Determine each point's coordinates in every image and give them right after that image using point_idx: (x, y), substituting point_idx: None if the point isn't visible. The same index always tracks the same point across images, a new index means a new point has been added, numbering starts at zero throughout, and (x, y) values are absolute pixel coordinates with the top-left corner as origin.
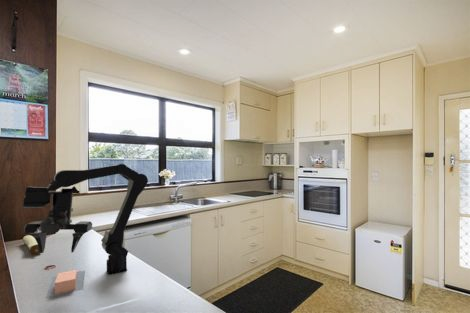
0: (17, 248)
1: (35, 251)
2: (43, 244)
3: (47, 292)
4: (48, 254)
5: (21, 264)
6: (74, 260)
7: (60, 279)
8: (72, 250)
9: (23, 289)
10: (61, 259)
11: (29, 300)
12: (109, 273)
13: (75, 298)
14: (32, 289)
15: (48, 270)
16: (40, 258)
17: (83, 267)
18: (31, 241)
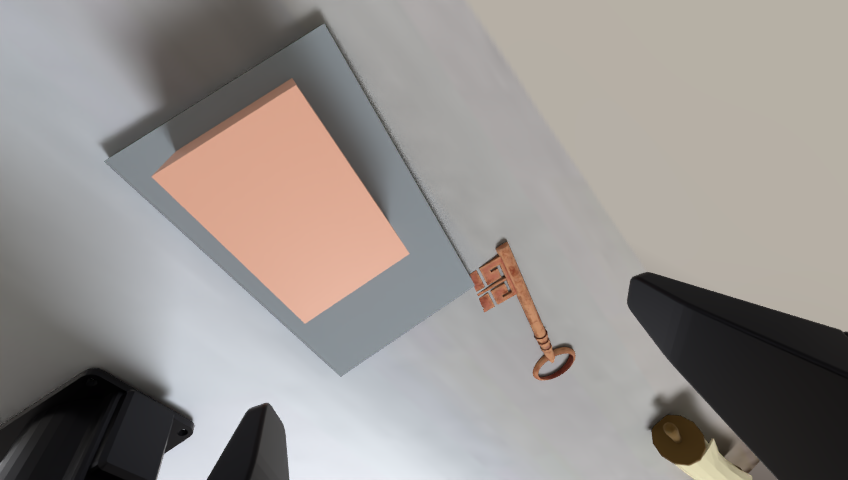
0: (731, 432)
1: (675, 429)
2: (733, 377)
3: (371, 106)
4: (620, 437)
5: None
6: (487, 437)
7: (300, 157)
8: (241, 434)
9: (550, 159)
10: (549, 425)
11: (429, 19)
12: (105, 387)
13: (42, 21)
14: (503, 161)
15: (542, 336)
16: (632, 407)
17: (390, 403)
18: (722, 470)
